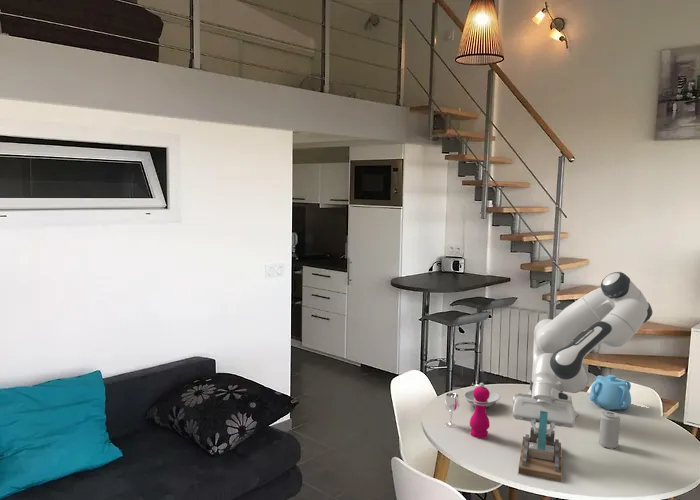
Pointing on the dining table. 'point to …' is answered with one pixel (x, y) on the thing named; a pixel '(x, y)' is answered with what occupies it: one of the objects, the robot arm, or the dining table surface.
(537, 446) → the track slider block
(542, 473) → the tray
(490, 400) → the dish
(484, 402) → the pepper mill
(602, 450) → the dining table surface
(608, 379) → the decorative pot
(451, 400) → the wineglass
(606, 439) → the beverage can
